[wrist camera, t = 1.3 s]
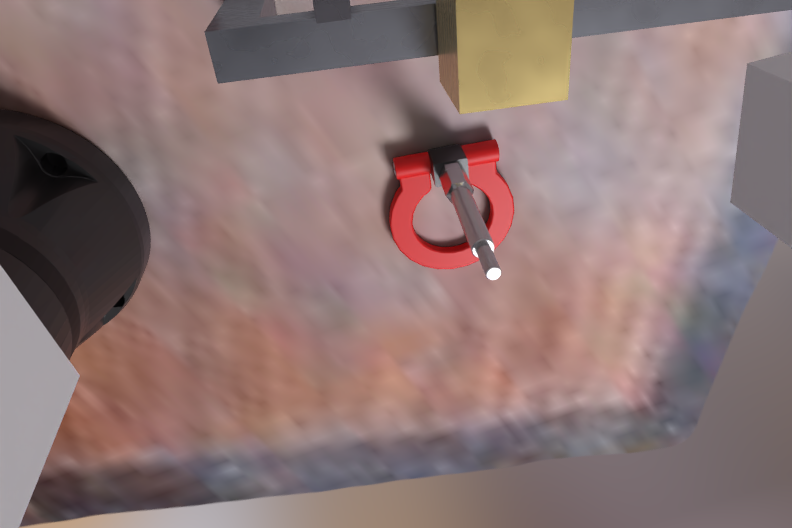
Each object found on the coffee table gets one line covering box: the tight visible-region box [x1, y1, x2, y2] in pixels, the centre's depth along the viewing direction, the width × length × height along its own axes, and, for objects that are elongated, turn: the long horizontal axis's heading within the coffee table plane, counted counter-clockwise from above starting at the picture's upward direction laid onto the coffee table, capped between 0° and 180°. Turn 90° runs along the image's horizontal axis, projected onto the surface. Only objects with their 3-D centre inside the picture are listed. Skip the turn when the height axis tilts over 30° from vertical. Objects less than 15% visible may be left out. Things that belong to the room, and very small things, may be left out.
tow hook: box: [389, 139, 514, 280], centre depth 36 cm, size 8×13×9 cm
